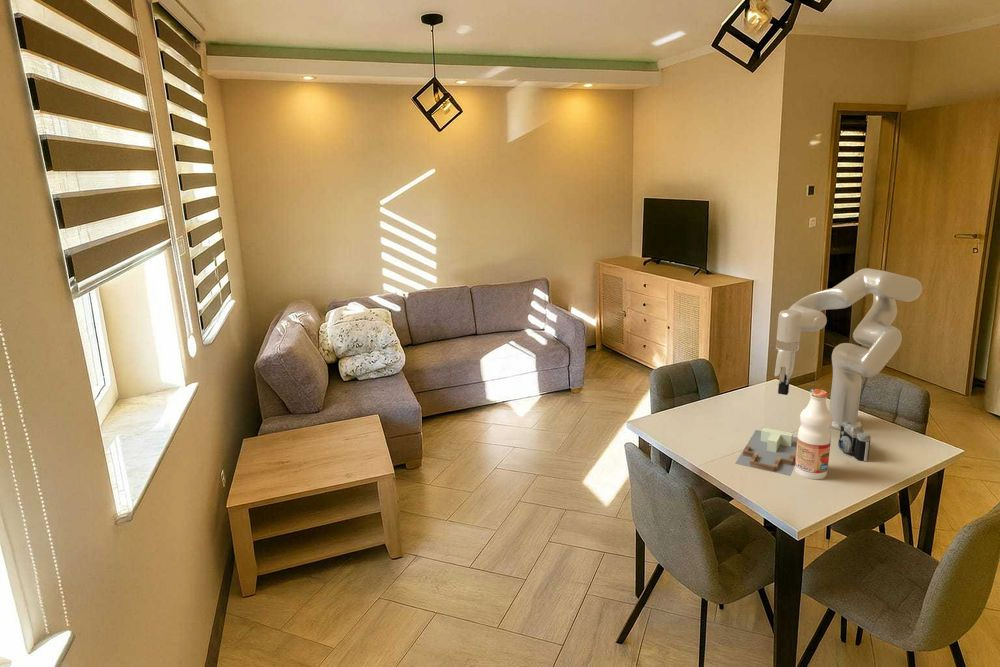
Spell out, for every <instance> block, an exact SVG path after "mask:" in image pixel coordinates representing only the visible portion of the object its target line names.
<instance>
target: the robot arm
mask: <svg viewBox="0 0 1000 667" xmlns="http://www.w3.org/2000/svg"><path fill="white" fill-rule="evenodd" d="M922 292H923V286H922V283H921V282H920V281H919V279H917V278H915V277H910V276H906V275H901V274H898V273H893V272H892V271H891V272H890V271H886V270H880V269H874V268H869V267H867V268H861V269H859V270H857V271H856V272H855V273H853V274H851V275H850V276H848V277H847V278H845V279H843V280H842V281H841V282H839V283H838V284H836V285H835V286H833V287H832V288H827V289H823V290H820V291H818V292H814V293H810V294H807V295H806V296H804V297H802V298H800V299H799V300H797V301H796V302H794V303H793V304H792V305H791V306H789V308H788V309H783V310H781V311H780V312H779V313H778V318H777V319H778V320H777V329H776V342H775V349H776V350H777V354H776V361H775V369H774V377H775V378H776V377H778V376H779V380H778V389H777V393H778V395H784V396H788V394H789V392H790V377H792V374H793V373H794V369H795V368H794V367H795V360H796V352H799V350H800V343H801V334H802V332H818V331H820V330H822V329H823V328H825V326H826V325H827V322H828V320H827V316H826V314H825V313H824V312H822V311H825V310H827V311H828V310H839V309H840V310H841V309H846V308H848V307H851V306H852V305H854V304H855V303H857V302H858V301H860V299H863V298H864V297H865V296H867V295H869V294H872V295H873V296H872V297H873V300H872V305H871V308H870V309H869V310H868V311H867V313H866V314H865V316H864V317H863V318H862V320H861V321H859V323H858V325H857V326H856V328H854V331H853V333H852V338H853V340H854V342H856V343H857V344H859V345H857V344H854V343H849V342H843V343H839V344H838V345H835V347H834V348H833V350H832V353H831V365H832V379H831V380H832V381H831V382H832V383H831V389H830V390H831V391H830V399H829V409H828V411H829V412H830V413H831V415H832V424H831V427H830V429H833V430H834V429H835V430H838V431H841V424H843V422H846V421H849V422H850V423H852V425H857V426H859V427H861V428H862V422H861V421H859V420H858V418H859V409H860V399H861V394H862V393H861V390H862V385H863V384H862V383H863V382H862V381H863V380H862V377H867V378H872V377H874V376H877V375H878V374H879V373H881V371H882V370H883V369H884V368H885V367H886V365H887V364H888V363H889V361H890V360H891V359H892V357H893V356H894V355H895V354H896V352H897V351H898V350H899V348H900V347H901V344H902V341H903V340H902V339H903V335H902V332H901V330H900V329H899V328H898V327H896V326H893V325H892V324H893V322H894V321H895V320H896V318H897V315H898V306H897V301H901V302H906V303H910V302H913V301H915V300H917V299H919V297H920V296H921V295H922ZM896 300H897V301H896ZM861 345H862V346H861ZM864 346H865V347H866V348H865V347H864ZM867 347H868V348H867Z"/></svg>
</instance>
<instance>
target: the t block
mask: <svg viewBox="0 0 1000 667" xmlns="http://www.w3.org/2000/svg"><path fill="white" fill-rule="evenodd" d="M760 431H761V441H764V442H767V451H771V452H777V450H778V448H779V446H780V445H784V446H789V447H791V445H792V440H793V437H794V433H793V432H789V431H788V432H787V431H782V430H779V429H771V428H767V427H762V428H761V430H760Z"/></svg>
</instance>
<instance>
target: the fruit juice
mask: <svg viewBox="0 0 1000 667" xmlns="http://www.w3.org/2000/svg"><path fill="white" fill-rule="evenodd" d="M827 399H828V392H827V391H826V390H823V389H818V388H815V389H814V388H812V389H810V391H809V401H808V404H807V405H806V407H805V408H803V409H802V411H801V412H800V415H799V420H800V426H799V428H798V430H797V431H798V432H797V436H796V438H797V448H796V459H795V466H794V471H795V474H797V475H798V476H800V477H802V478H805V479H808V480H822V479H825V478H826V477H827V476H828V470H829V460H830V452H831V451H830V450H831V442H832V441H831V440H832V432H831V424H832V415H831V413H830V412H829V409H828V407H827V402H826V400H827Z"/></svg>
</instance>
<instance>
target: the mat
mask: <svg viewBox="0 0 1000 667" xmlns="http://www.w3.org/2000/svg"><path fill="white" fill-rule="evenodd" d="M747 445H751V449H750V451H751V452H756V453H758V458H757V460H756V462H759V463H763V464H768V465H774V463H775V461H776V459H777V457H780V458H784V459H789V458H790V455H791V453H792V454H795V459H796V448H797V436H796V437H795V436H793V440H792V445H791V447H789V446H784V445H780V446H779V448H778V450H777V452H771V451H767V442H764V441H761V430H758V429H755V430H754V432H753V434H752V435H751V437H750V438H749V440H748V442H747V443H746V445H745V447H744V448H743V450H742V451H741V454H740V455H739V457H738V458H737V460H736V461H735V463H734V464H735V465H739V466H744V467H749V468H753V469H757V470H761V471H766V472H770V473H776V474H779V475H784V476H789V477H791V475H792V473H793V470H794V469H795V459H794V461H793V464H792V466H790V465H786V464H781V463H780V465H779V467H778V469H777V471H776V470H775V471H774V472H773V471H768V470H764V469H759V468H755V467H751V465H750V460H751V458H752V457H748V456H743V451H744V449H745V448H746V446H747Z"/></svg>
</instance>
